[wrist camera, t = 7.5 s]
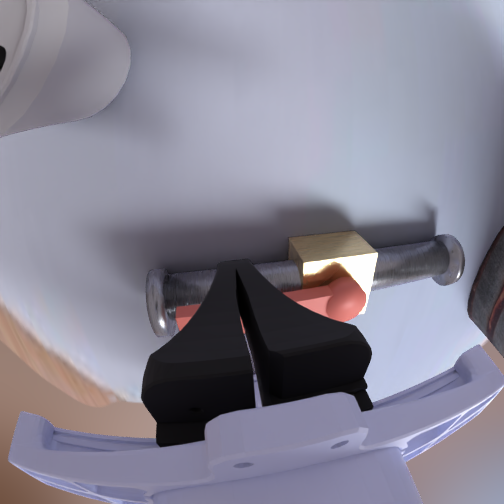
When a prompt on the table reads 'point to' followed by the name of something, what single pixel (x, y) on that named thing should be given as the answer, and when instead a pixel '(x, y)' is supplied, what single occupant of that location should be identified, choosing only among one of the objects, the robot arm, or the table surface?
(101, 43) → the can
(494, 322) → the barrel
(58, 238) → the table surface
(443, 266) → the pipe and valve
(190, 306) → the lever
